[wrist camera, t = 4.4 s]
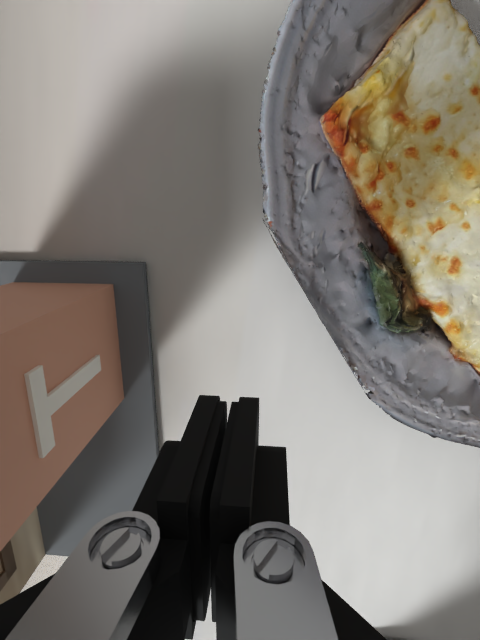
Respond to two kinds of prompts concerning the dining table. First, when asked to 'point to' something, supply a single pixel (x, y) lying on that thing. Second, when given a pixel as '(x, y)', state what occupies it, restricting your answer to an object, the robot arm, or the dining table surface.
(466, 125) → the food plate
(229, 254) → the dining table surface
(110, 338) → the terracotta block
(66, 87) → the dining table surface
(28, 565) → the beech block
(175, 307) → the dining table surface
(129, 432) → the rubber mat
